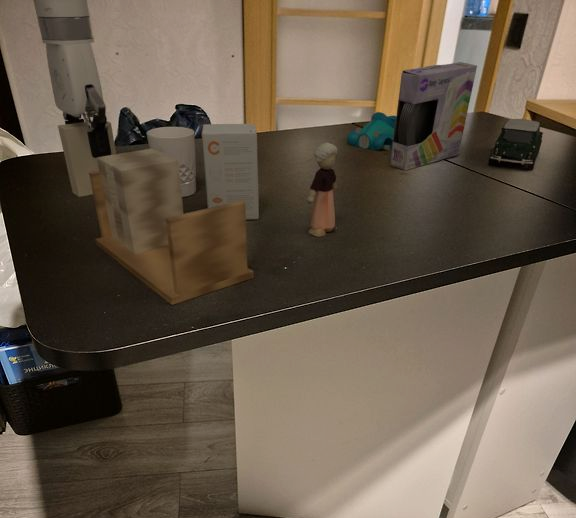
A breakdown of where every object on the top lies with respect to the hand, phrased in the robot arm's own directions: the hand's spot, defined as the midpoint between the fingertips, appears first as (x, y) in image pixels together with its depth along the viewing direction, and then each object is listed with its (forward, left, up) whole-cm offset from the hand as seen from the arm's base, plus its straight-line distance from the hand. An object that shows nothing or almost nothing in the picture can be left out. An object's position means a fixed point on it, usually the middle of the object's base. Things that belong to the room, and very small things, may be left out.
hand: (90, 150), depth 93 cm
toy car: (+69, -5, -7) cm, 69 cm away
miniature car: (+80, -32, -7) cm, 87 cm away
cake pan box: (+63, -22, -7) cm, 67 cm away
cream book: (0, 0, -7) cm, 7 cm away
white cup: (+11, -9, -7) cm, 16 cm away
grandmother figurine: (+20, -38, -7) cm, 43 cm away
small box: (+13, -24, -7) cm, 28 cm away
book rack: (-4, -34, -7) cm, 35 cm away
